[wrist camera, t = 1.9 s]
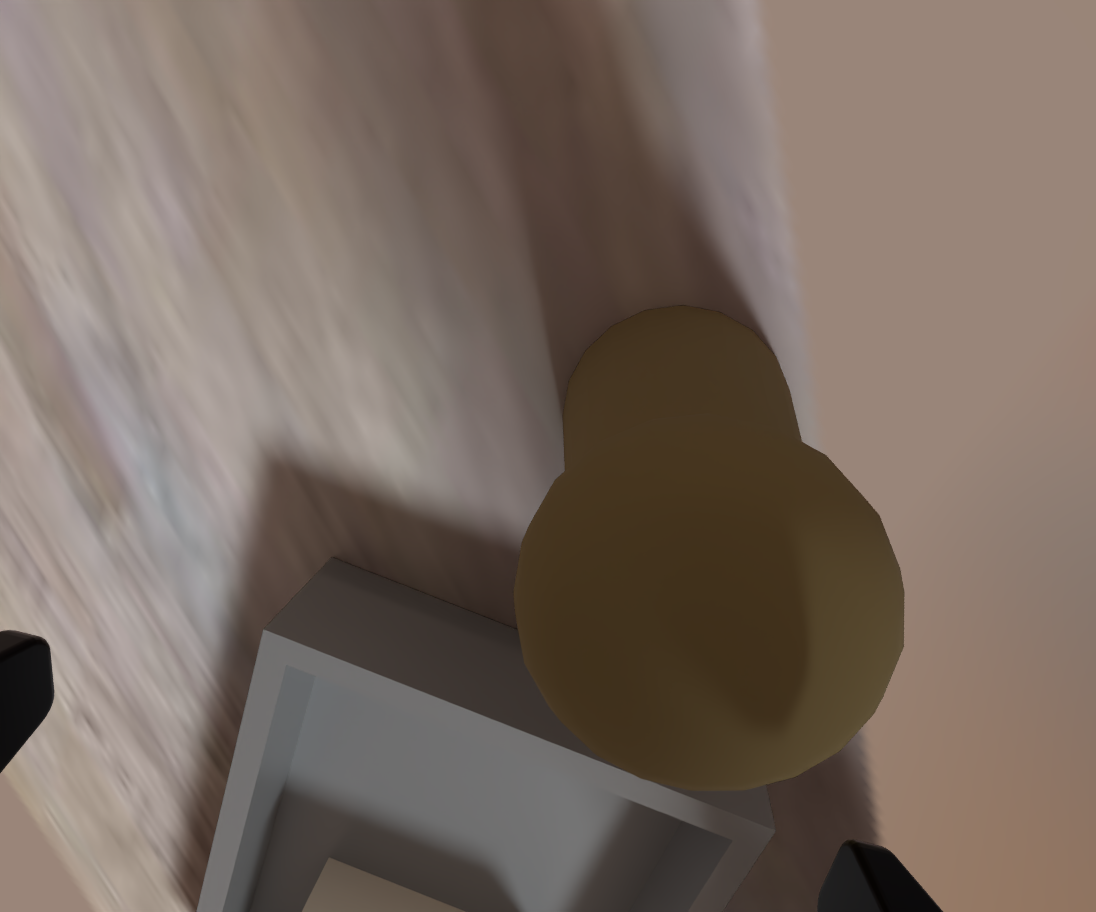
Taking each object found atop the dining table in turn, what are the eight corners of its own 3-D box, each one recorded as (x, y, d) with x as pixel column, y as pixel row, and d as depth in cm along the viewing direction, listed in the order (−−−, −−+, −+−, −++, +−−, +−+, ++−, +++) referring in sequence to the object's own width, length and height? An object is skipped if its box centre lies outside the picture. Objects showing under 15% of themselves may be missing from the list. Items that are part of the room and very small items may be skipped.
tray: (753, 721, 21) (776, 831, 17) (539, 1081, 28) (522, 1213, 24) (331, 557, 21) (263, 629, 17) (224, 954, 28) (159, 1067, 24)
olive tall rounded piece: (641, 558, 20) (633, 927, 9) (519, 389, 19) (359, 595, 8) (835, 451, 18) (1087, 760, 8) (713, 256, 17) (817, 310, 6)
